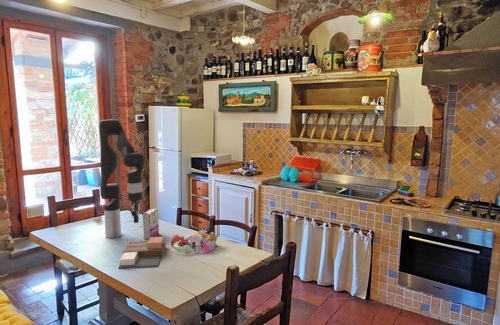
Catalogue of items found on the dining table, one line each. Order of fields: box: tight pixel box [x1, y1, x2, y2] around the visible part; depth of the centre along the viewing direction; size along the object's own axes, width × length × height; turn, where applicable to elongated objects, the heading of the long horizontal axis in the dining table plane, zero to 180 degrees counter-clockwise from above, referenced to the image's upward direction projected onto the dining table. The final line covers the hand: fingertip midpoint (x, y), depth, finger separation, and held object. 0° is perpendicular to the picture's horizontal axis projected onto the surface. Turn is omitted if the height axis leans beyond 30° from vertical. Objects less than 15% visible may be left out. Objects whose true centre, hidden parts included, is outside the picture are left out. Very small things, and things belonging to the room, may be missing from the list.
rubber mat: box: [118, 256, 162, 270], centre depth 173 cm, size 11×19×1 cm, turn 97°
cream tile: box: [119, 252, 138, 265], centre depth 172 cm, size 9×7×3 cm
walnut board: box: [122, 239, 166, 259], centre depth 185 cm, size 15×20×4 cm
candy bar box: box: [142, 208, 160, 240], centre depth 210 cm, size 11×5×16 cm, turn 168°
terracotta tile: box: [147, 236, 164, 249], centre depth 186 cm, size 9×7×3 cm
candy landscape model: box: [170, 229, 218, 257], centre depth 193 cm, size 25×24×9 cm
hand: (136, 222), depth 179 cm, fingers closed
